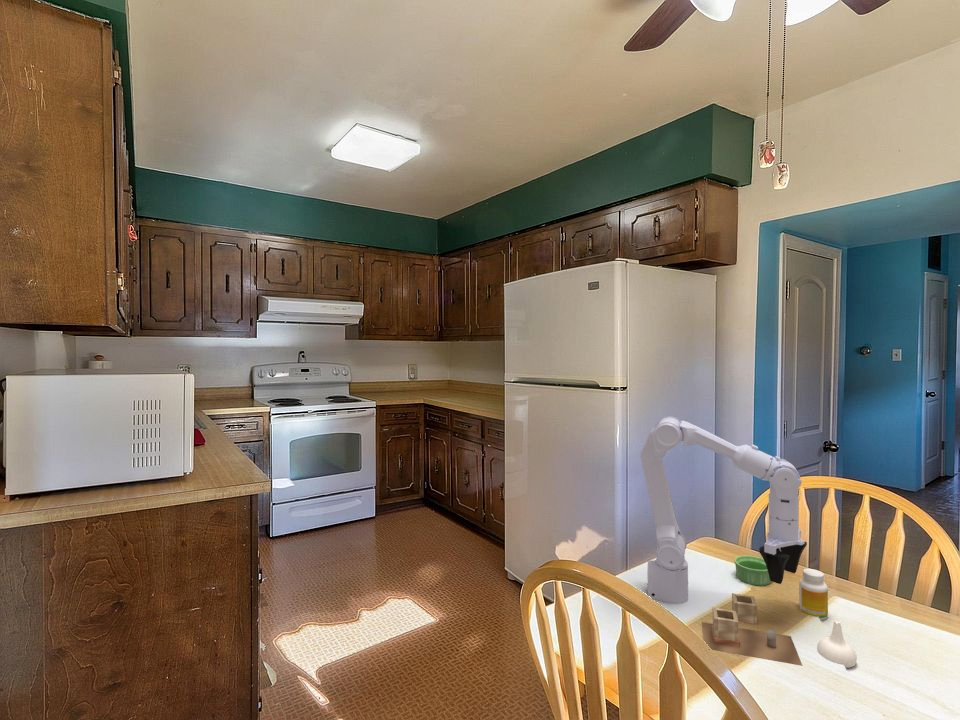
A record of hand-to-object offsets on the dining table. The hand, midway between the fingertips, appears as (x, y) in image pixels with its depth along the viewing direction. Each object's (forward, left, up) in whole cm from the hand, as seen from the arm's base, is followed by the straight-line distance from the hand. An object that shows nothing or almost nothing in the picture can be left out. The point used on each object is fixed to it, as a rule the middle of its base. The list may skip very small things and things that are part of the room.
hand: (783, 576), depth 112 cm
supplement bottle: (+7, +5, -10) cm, 13 cm away
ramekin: (-3, +20, -10) cm, 22 cm away
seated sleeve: (-13, -13, -9) cm, 20 cm away
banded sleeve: (-8, -3, -10) cm, 13 cm away
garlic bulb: (+7, -12, -10) cm, 17 cm away
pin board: (-9, -13, -10) cm, 19 cm away
